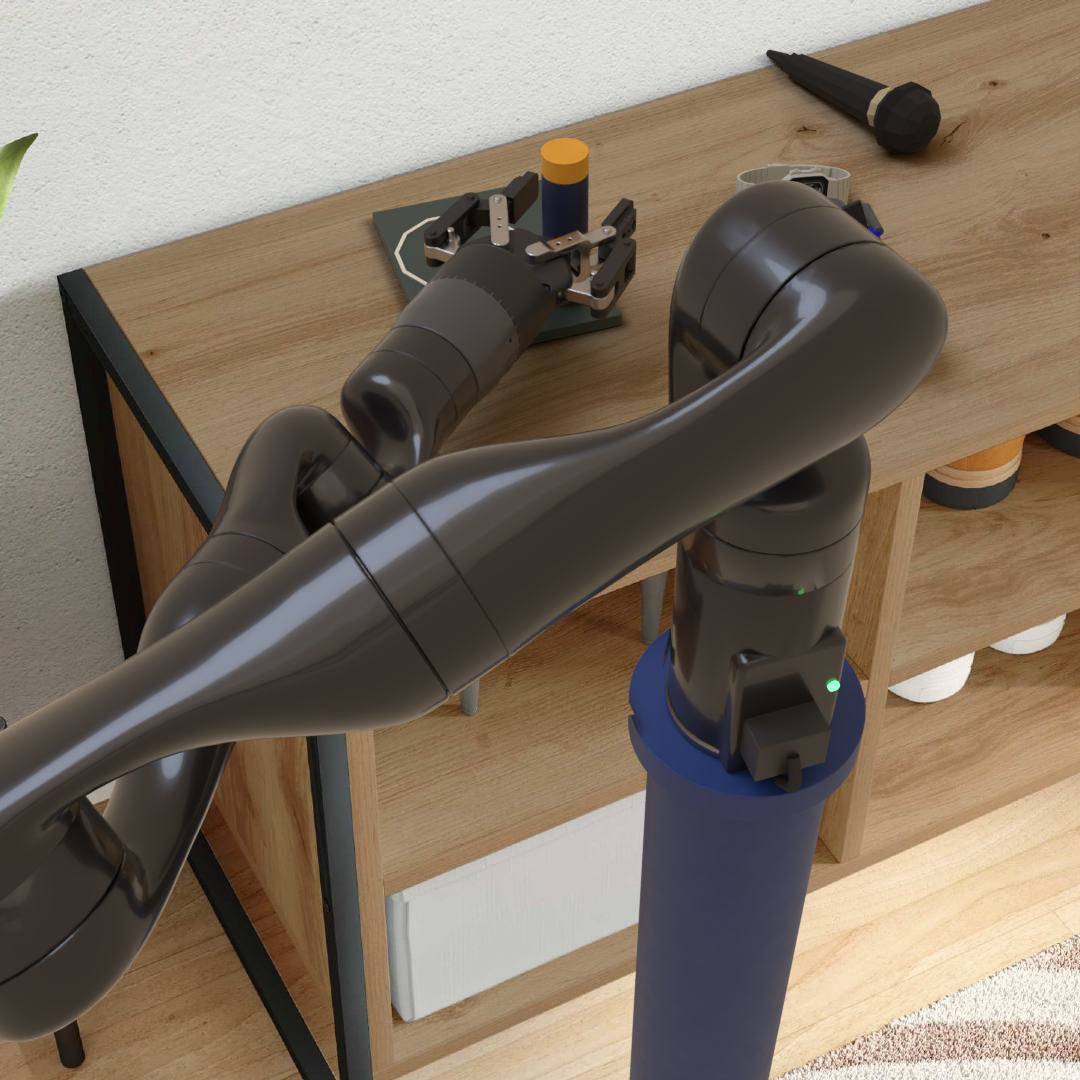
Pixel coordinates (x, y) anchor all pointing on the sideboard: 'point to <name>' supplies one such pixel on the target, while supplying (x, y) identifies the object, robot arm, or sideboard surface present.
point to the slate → (407, 249)
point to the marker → (564, 188)
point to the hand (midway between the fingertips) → (580, 196)
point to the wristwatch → (801, 178)
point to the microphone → (870, 101)
